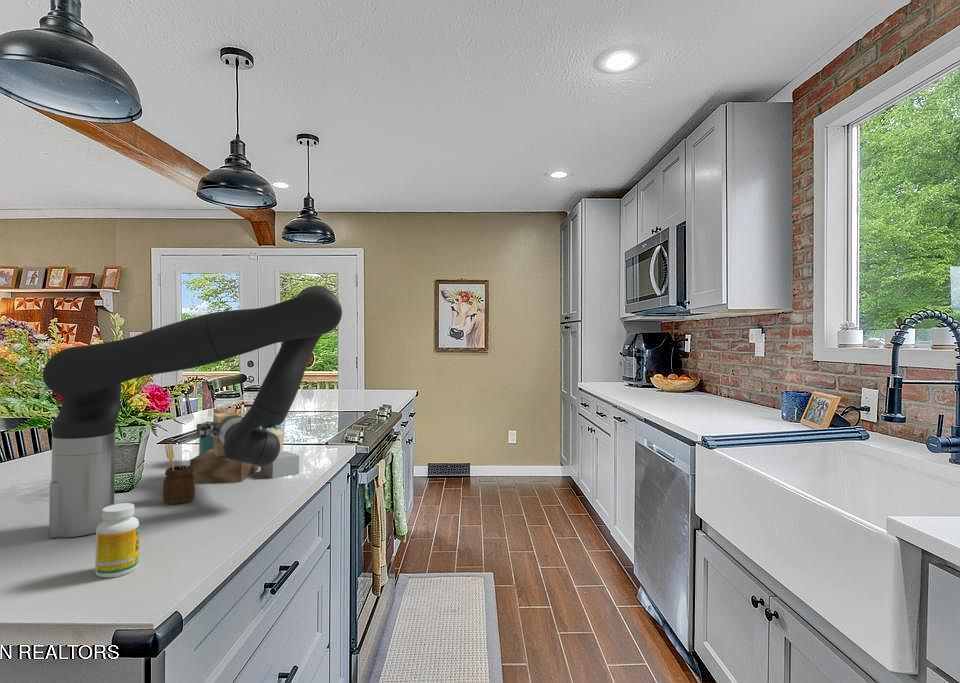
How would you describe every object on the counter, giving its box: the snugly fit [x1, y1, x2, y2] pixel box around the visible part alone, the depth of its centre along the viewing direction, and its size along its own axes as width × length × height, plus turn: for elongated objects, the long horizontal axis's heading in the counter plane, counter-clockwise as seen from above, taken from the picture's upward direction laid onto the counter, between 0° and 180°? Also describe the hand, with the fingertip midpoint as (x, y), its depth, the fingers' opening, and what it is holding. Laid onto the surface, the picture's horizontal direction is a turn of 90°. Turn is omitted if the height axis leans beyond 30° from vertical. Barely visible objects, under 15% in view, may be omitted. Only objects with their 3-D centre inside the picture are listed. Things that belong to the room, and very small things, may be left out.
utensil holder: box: [162, 442, 196, 505], centre depth 113 cm, size 6×6×12 cm
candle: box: [265, 427, 284, 452], centre depth 147 cm, size 6×6×10 cm
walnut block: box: [189, 449, 259, 484], centre depth 134 cm, size 12×13×6 cm
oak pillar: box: [212, 411, 240, 457], centre depth 134 cm, size 5×5×10 cm
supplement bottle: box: [94, 502, 140, 578], centre depth 79 cm, size 5×5×10 cm
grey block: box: [260, 450, 300, 480], centre depth 137 cm, size 7×7×5 cm
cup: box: [198, 421, 213, 455], centre depth 145 cm, size 9×12×11 cm
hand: (225, 424), depth 135 cm, fingers open, 8 cm apart
